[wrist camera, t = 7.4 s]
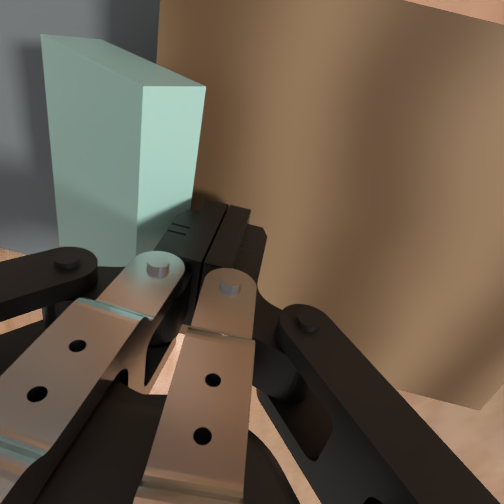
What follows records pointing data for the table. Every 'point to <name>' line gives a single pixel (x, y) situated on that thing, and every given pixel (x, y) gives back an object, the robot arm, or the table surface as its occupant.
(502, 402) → the table surface
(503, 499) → the table surface
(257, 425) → the table surface
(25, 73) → the mat
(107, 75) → the mint green block
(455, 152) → the brown wooden flat block
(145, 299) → the robot arm
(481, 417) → the table surface
